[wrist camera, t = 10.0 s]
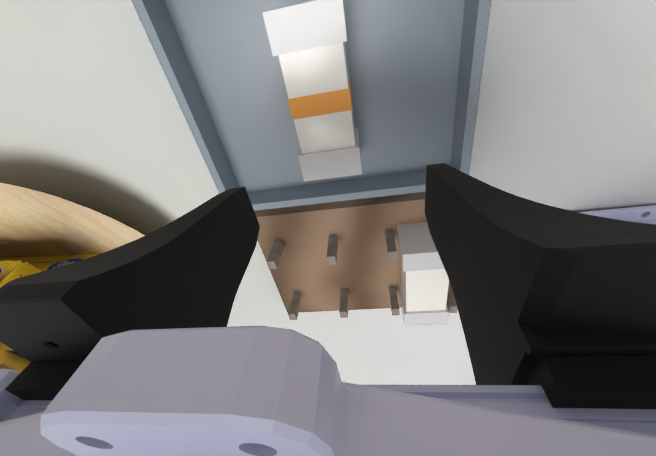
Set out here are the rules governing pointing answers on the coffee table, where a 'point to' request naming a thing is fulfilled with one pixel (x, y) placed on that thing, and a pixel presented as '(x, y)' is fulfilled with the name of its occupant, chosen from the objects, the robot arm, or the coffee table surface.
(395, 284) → the board
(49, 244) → the stacked boxes on plate
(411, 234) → the block
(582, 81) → the coffee table surface
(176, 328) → the robot arm
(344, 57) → the marked fuse
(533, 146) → the coffee table surface
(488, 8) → the tray
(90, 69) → the coffee table surface
